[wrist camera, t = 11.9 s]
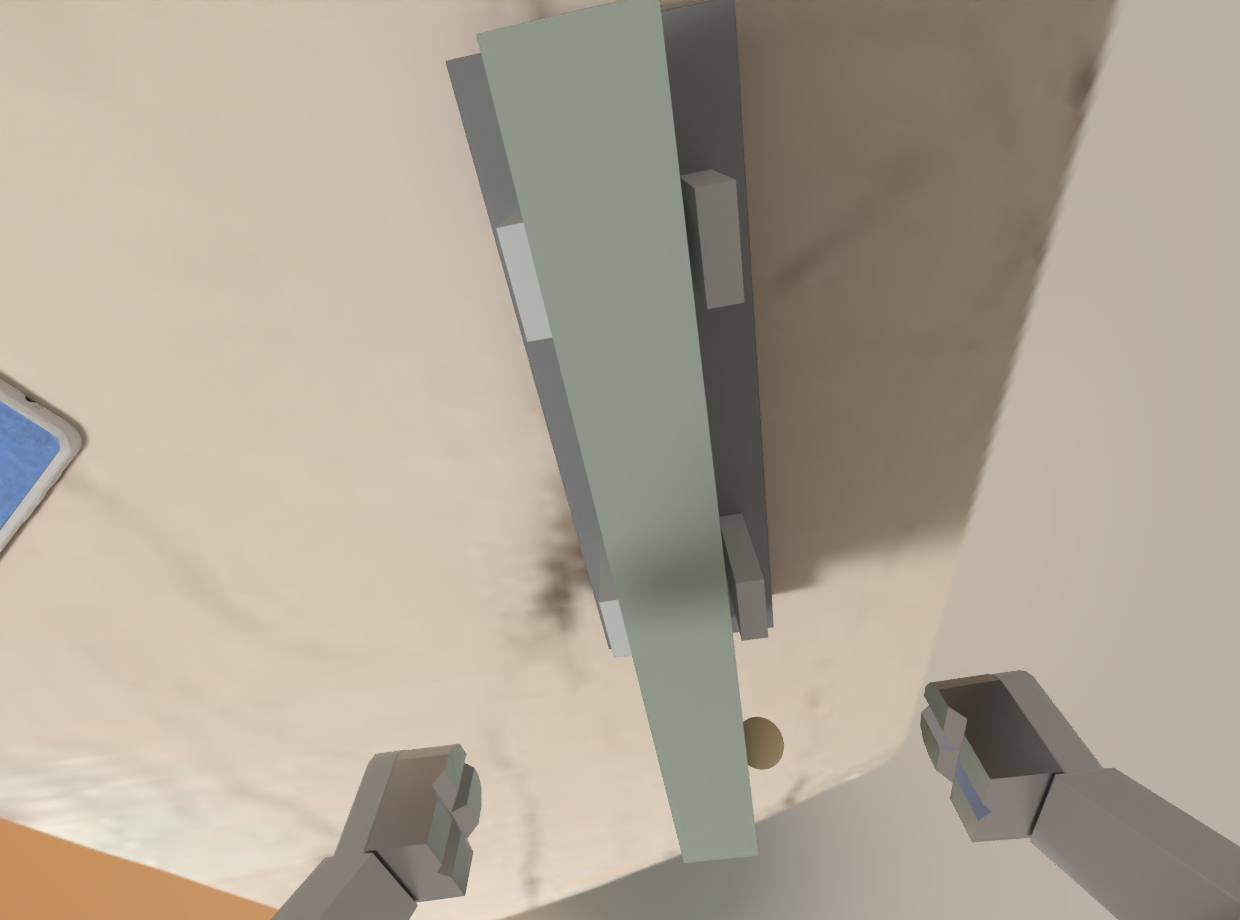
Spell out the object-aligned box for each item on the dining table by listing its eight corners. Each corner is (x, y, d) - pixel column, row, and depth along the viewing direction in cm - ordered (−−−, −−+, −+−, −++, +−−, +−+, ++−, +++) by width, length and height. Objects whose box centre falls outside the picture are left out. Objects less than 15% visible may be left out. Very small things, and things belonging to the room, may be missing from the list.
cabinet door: (550, 84, 16) (476, 34, 7) (687, 54, 16) (778, -36, 7) (661, 627, 27) (684, 863, 18) (743, 616, 27) (805, 850, 18)
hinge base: (462, 67, 17) (397, 42, 12) (721, 8, 17) (770, -45, 12) (609, 618, 29) (608, 723, 24) (764, 597, 29) (796, 700, 24)
